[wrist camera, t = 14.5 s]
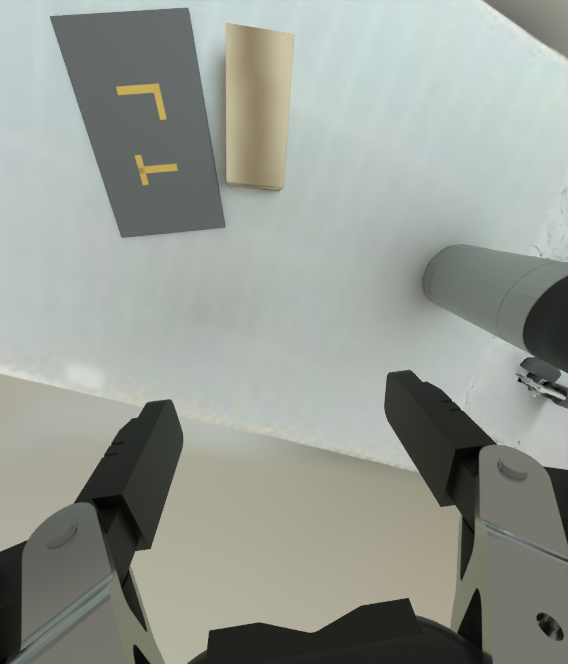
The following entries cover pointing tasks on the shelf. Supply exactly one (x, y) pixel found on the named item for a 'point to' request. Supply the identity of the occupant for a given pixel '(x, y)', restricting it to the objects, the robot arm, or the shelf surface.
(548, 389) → the can opener
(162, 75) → the picture tile
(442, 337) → the shelf surface
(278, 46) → the maple block
